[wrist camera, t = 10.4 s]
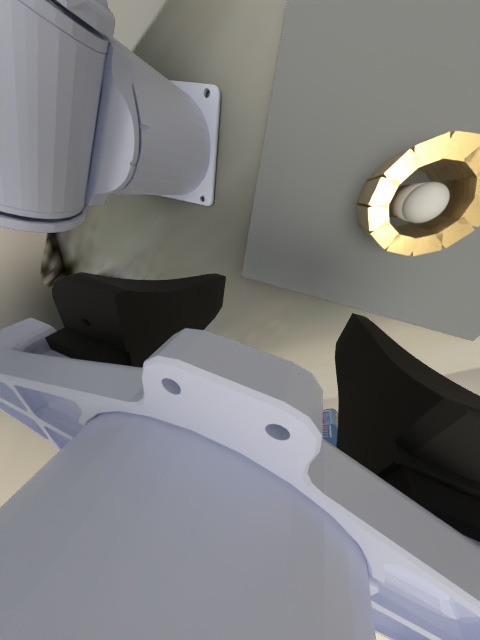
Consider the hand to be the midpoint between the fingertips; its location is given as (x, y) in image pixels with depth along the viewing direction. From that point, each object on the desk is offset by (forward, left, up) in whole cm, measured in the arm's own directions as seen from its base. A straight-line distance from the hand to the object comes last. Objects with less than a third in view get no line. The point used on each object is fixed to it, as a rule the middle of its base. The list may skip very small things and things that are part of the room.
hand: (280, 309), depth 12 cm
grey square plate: (+6, +6, -10) cm, 13 cm away
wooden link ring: (+6, +6, -10) cm, 13 cm away
